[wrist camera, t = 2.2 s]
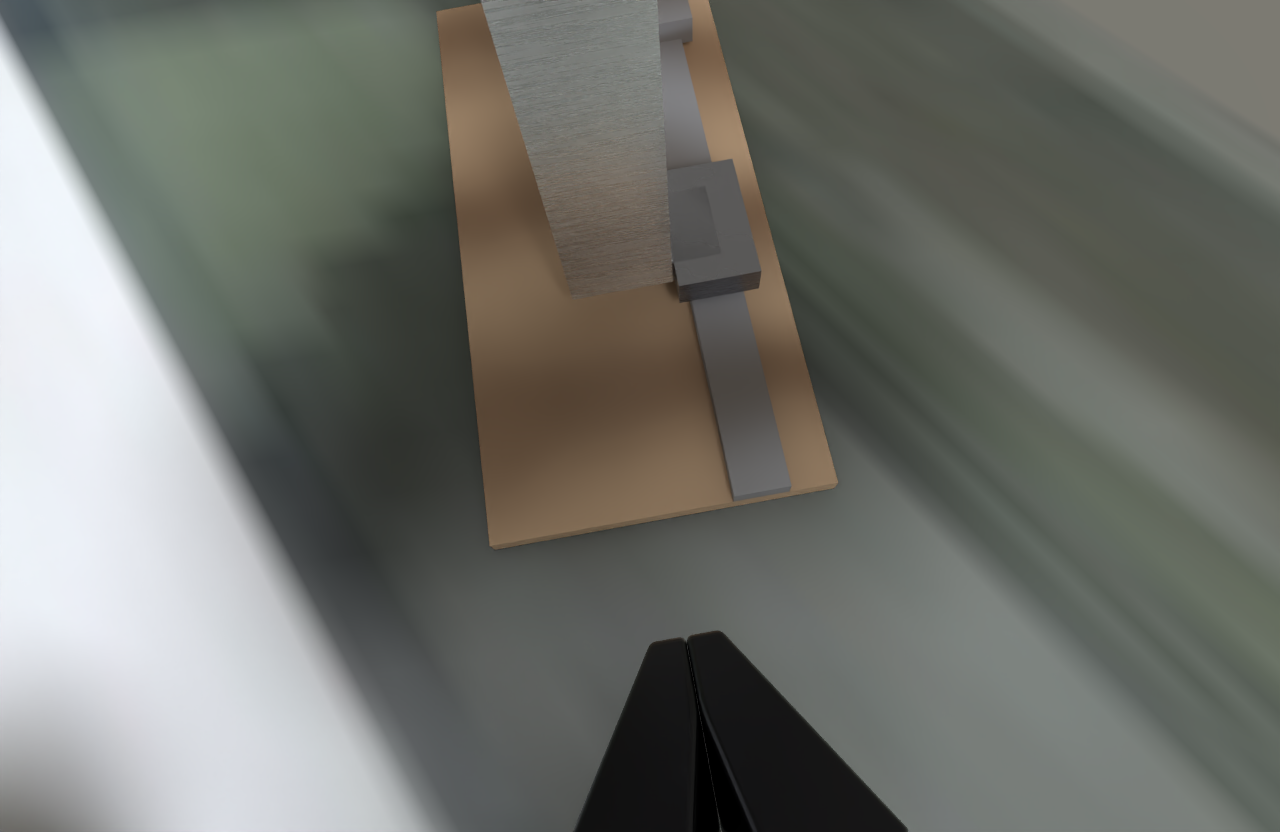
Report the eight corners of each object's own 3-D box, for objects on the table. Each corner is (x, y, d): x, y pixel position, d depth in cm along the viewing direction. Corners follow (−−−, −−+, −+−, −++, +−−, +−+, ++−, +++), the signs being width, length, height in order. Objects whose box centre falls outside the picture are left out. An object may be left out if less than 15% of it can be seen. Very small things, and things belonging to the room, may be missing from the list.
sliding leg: (757, 297, 24) (900, -645, 7) (576, 330, 24) (299, -532, 7) (730, 190, 25) (797, -805, 8) (559, 221, 25) (295, -709, 8)
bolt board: (834, 488, 22) (1115, 55, 7) (494, 549, 22) (88, 245, 7) (698, -24, 30) (699, -767, 15) (441, 24, 30) (179, -668, 15)
